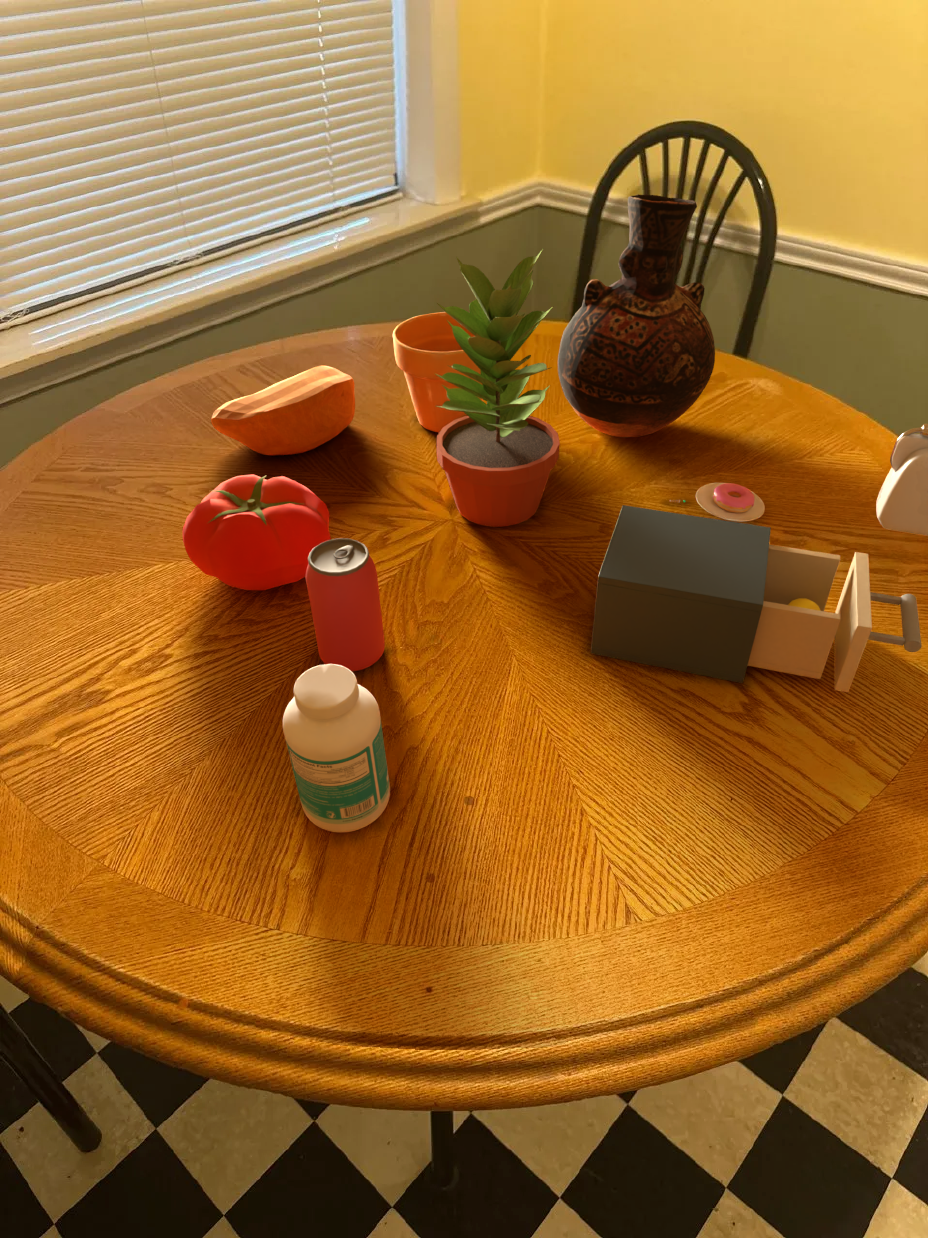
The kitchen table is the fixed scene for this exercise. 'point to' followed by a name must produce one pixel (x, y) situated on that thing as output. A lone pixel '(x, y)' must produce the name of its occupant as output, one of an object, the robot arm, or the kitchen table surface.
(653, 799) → the kitchen table surface
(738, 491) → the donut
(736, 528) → the drawer cabinet
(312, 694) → the pill bottle
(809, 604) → the light bulb
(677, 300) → the ceramic vessel
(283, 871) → the kitchen table surface
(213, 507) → the tomato
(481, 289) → the potted plant
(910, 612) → the wooden pull-out drawer
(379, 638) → the beer can
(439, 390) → the flower pot
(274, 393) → the orange oblong lump
